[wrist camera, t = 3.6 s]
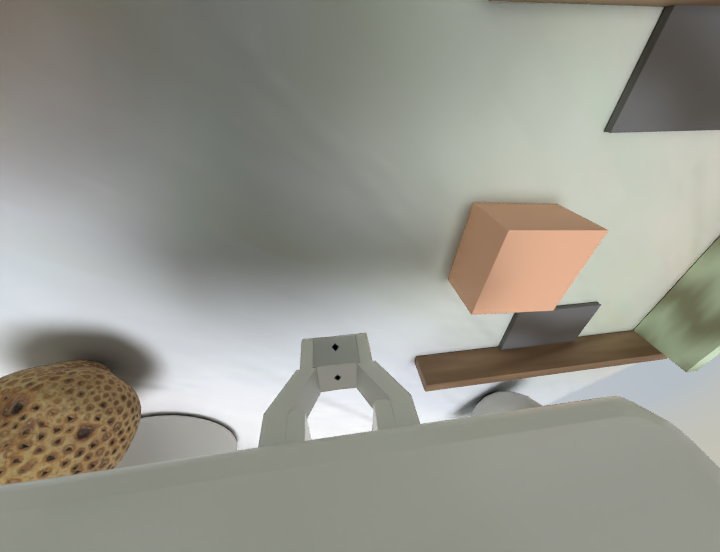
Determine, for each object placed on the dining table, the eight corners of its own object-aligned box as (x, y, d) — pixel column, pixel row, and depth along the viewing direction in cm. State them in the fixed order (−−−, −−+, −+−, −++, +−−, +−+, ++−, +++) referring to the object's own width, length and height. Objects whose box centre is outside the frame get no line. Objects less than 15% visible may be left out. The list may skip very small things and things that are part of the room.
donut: (465, 417, 35) (508, 515, 27) (449, 412, 34) (490, 515, 26) (530, 378, 31) (603, 480, 23) (515, 371, 30) (588, 477, 22)
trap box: (496, -36, 10) (608, -106, 6) (966, -13, 13) (1249, -52, 9) (414, 362, 26) (432, 414, 22) (637, 335, 29) (689, 376, 25)
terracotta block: (471, 201, 17) (508, 230, 13) (555, 203, 18) (608, 230, 14) (446, 277, 20) (471, 314, 17) (517, 275, 21) (553, 310, 18)
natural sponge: (72, 301, 17) (-146, 501, 9) (193, 365, 22) (124, 528, 14) (-9, 360, 19) (-247, 568, 11) (120, 406, 24) (23, 570, 16)
